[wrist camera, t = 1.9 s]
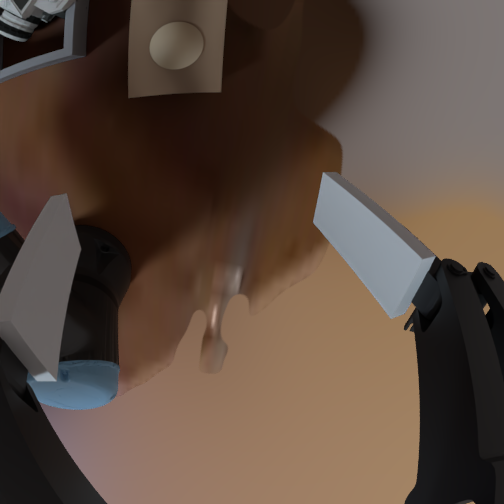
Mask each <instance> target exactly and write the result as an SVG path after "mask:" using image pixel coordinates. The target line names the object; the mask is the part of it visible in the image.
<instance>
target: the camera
mask: <svg viewBox="0 0 504 504" xmlns="http://www.w3.org/2000/svg"><path fill="white" fill-rule="evenodd" d="M74 1H75V0H0V7H1V8H3V9H5V10H4V12H3V14H2V15H1V16H0V34H1V35H3V36H5V37H8V38H10V39H13V40H16V41H20V42H25V41H27V40H28V39H29V38H31V35H32V33H33V32H34V29H35V28H36V27H37V26H38V25H39V23H40V22H41V21H44V22H46V23H47V22H48V21H51V20H52V19H53V18H54V16H55V15H56V16H58V17H60V18H63V19H65V15H66V10H67V9H68V8H69V7H70V6H71V4H72V3H73V2H74ZM76 1H78V0H76ZM86 9H87V7H86Z"/></svg>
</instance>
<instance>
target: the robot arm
mask: <svg viewBox="0 0 504 504" xmlns="http://www.w3.org/2000/svg"><path fill="white" fill-rule="evenodd" d="M313 223H314V224H315V225H316V227H317V228H318V229H319V230H320V231H321V232H322V234H323V235H324V236H325V237H326V238H327V239H328V241H329V242H330V243H331V244H332V245H333V246H334V248H335V249H336V250H337V251H338V252H339V254H340V255H341V256H342V257H343V258H344V260H345V261H346V262H347V263H348V265H349V266H350V267H351V268H352V269H353V271H354V272H355V273H356V274H357V276H358V277H359V278H360V280H362V282H363V283H364V285H365V286H366V287H367V288H368V290H369V291H370V292H371V293H372V295H373V296H374V297H375V299H376V300H377V301H378V302H379V304H380V305H381V306H382V308H383V309H384V310H385V312H386V313H387V314H388V316H389V317H390V318H391V319H392V318H394V317H397V316H400V315H403V314H405V312H406V311H407V308H408V307H409V305H410V304H411V302H412V303H413V304H414V305H415V306H416V308H415V310H414V311H413V313H412V315H411V316H410V318H409V319H408V321H407V323H406V324H405V326H404V330H407V329H408V327H409V325H410V324H411V323H413V326H412V327H411V329H410V331H412V332H414V333H415V341H416V351H417V362H418V374H419V394H420V442H419V461H418V473H417V482H416V485H415V487H414V489H413V490H412V491H411V492H410V494H409V495H408V497H407V498H406V500H405V504H466V503H469V502H472V501H473V502H474V503H475V504H504V281H503V280H502V278H501V277H500V275H499V274H498V273H497V272H496V270H495V269H494V268H493V267H492V266H491V265H489V264H487V263H483V262H480V263H478V264H477V266H476V268H475V270H474V272H467V270H466V268H465V267H463V266H462V265H461V264H460V263H458V262H457V261H454V260H452V259H443V260H442V261H441V260H440V259H439V258H438V257H437V256H436V255H434V253H432V252H431V251H430V250H429V249H428V248H427V247H426V246H425V245H424V244H423V243H422V242H421V241H419V240H418V238H416V237H415V236H414V235H413V234H412V233H411V232H410V231H409V230H408V229H407V228H405V227H404V226H403V225H402V224H400V223H399V222H398V221H397V220H396V219H395V218H393V217H392V216H391V215H390V214H389V213H388V212H386V211H385V210H384V209H383V208H382V207H380V206H379V205H378V204H377V203H376V202H374V201H373V200H372V199H371V198H369V197H368V196H367V195H365V194H364V193H363V192H362V191H360V190H359V189H358V188H357V187H355V186H354V185H353V184H351V183H350V182H349V181H348V180H346V179H345V178H343V177H342V176H341V175H339V174H338V173H337V172H323V176H322V181H321V186H320V191H319V196H318V201H317V206H316V211H315V215H314V220H313ZM15 228H16V226H15V225H14V224H11V223H10V222H9V221H8V220H7V219H6V218H5V216H4V215H3V214H2V213H1V212H0V504H107V503H106V502H105V501H104V499H103V498H102V497H101V496H100V495H99V494H98V492H97V491H96V490H95V489H94V487H93V486H92V485H91V484H90V482H89V481H88V480H87V478H86V477H85V476H84V474H83V473H82V472H81V470H80V469H79V468H78V466H77V465H76V463H75V462H74V460H73V459H72V458H71V456H70V455H69V453H68V452H67V450H66V449H65V447H64V445H63V444H62V442H61V441H60V439H59V437H58V436H57V434H56V432H55V431H54V429H53V428H52V426H51V424H50V422H49V420H48V419H47V417H46V415H45V413H44V411H43V409H42V407H41V405H40V403H39V402H41V403H43V404H47V405H50V406H53V407H57V408H63V409H75V410H76V409H77V410H78V409H79V410H83V409H92V408H97V407H100V406H103V405H105V404H107V403H109V402H111V401H112V400H113V399H114V398H115V396H116V394H117V391H118V373H119V371H120V367H119V355H118V308H119V306H120V304H121V302H122V300H123V298H124V296H125V294H126V292H127V290H128V288H129V285H130V280H131V261H130V257H129V255H128V253H127V251H126V249H125V248H124V246H123V245H122V244H121V243H120V241H119V240H117V239H116V238H115V237H114V236H113V235H111V234H110V233H108V232H106V231H104V230H102V229H99V228H96V227H92V226H85V225H79V226H74V222H73V218H72V214H71V210H70V206H69V202H68V197H67V194H62V195H56V196H51V197H50V199H49V200H48V202H47V204H46V205H45V207H44V208H43V210H42V212H41V213H40V215H39V217H38V218H37V220H36V222H35V223H34V225H33V227H32V229H31V231H30V232H29V234H28V236H27V238H26V240H24V239H23V238H22V237H21V235H20V234H19V233H18V232H17V231H16V229H15ZM487 303H488V305H489V307H490V309H489V311H488V312H487V314H486V315H485V314H484V311H483V308H484V307H485V305H486V304H487Z"/></svg>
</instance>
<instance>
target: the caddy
mask: <svg viewBox="0 0 504 504" xmlns="http://www.w3.org/2000/svg"><path fill="white" fill-rule="evenodd" d="M86 7H87V9H86ZM88 9H89V0H78V1H76V0H75V1H74V2H73V3H72V4H71V6H70V7H69V8H68V9H67V10H66V15H65V29H64V49H60V50H57V51H53V52H50V53H47V54H43V55H40V56H37V57H34V58H31V59H28V60H26V61H23V62H20V63H18V64H15V65H13V66H10V67H8V68H5V69H3V38H4V36H3V35H1V34H0V83H2V82H4V81H7V80H9V79H12V78H14V77H17V76H20V75H22V74H25V73H28V72H31V71H34V70H37V69H40V68H43V67H47V66H50V65H54V64H57V63H61V62H65V61H68V60H72V59H77V58H81V57H86V38H87V21H88ZM4 10H5V9H3V8H1V7H0V16H1V15H2V14H3V12H4Z"/></svg>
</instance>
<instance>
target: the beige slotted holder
mask: <svg viewBox="0 0 504 504" xmlns="http://www.w3.org/2000/svg"><path fill="white" fill-rule="evenodd" d="M227 1H228V0H132V2H131V14H130V28H129V50H128V98H135V97H144V96H153V95H165V94H179V93H204V92H221V84H222V66H223V51H224V37H225V24H226V12H227Z"/></svg>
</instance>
